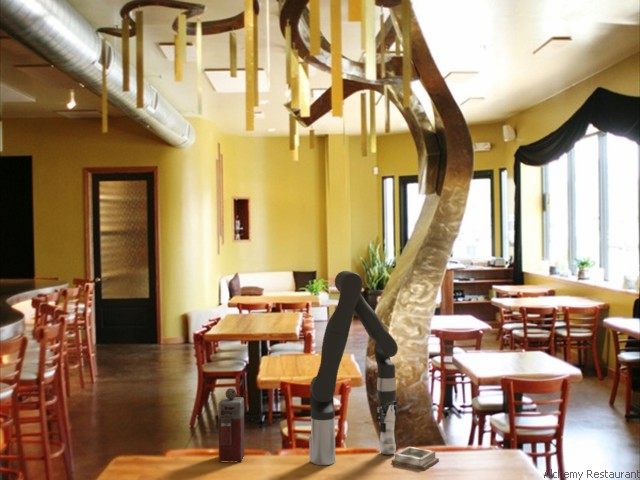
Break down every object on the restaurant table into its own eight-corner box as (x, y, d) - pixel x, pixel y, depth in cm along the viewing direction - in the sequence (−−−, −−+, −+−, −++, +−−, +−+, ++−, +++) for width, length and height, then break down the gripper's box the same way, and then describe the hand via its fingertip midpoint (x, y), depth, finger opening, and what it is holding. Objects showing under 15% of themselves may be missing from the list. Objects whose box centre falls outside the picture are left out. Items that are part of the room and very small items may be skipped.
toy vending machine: (217, 464, 245) (216, 391, 246) (222, 455, 257) (221, 385, 257) (240, 464, 245) (239, 391, 246) (244, 454, 256) (243, 385, 257)
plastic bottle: (395, 456, 251) (394, 406, 251) (378, 456, 252) (377, 405, 253) (396, 451, 257) (396, 402, 258) (380, 451, 259) (379, 401, 259)
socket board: (391, 463, 243) (391, 453, 244) (406, 455, 253) (406, 445, 253) (424, 470, 235) (424, 460, 235) (438, 461, 245) (438, 451, 245)
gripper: (387, 384, 263) (388, 424, 263) (369, 390, 252) (369, 433, 251) (403, 386, 259) (404, 427, 259) (385, 392, 247) (386, 436, 247)
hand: (387, 429), depth 255 cm, fingers closed on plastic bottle, 6 cm apart
